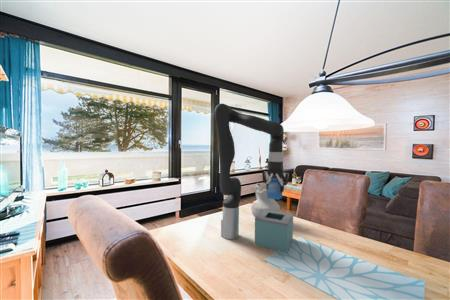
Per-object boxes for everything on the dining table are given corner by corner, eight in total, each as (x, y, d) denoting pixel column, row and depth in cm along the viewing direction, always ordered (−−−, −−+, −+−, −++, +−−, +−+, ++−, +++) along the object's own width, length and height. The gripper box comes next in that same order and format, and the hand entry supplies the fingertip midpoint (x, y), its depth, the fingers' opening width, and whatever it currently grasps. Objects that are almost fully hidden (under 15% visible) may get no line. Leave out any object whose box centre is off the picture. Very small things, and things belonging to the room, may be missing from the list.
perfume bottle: (282, 197, 112) (282, 175, 111) (278, 199, 106) (279, 176, 106) (271, 195, 115) (271, 174, 114) (267, 197, 109) (267, 175, 109)
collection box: (254, 244, 108) (254, 218, 107) (263, 232, 122) (264, 209, 122) (287, 252, 100) (287, 224, 100) (292, 238, 115) (293, 213, 114)
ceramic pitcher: (243, 220, 145) (241, 185, 143) (262, 212, 156) (261, 180, 154) (267, 231, 128) (265, 191, 125) (286, 221, 139) (285, 185, 137)
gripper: (290, 160, 110) (290, 191, 110) (264, 159, 117) (263, 188, 117) (288, 161, 103) (287, 194, 104) (260, 160, 110) (259, 191, 110)
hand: (274, 191), depth 110 cm, fingers closed on perfume bottle, 6 cm apart
